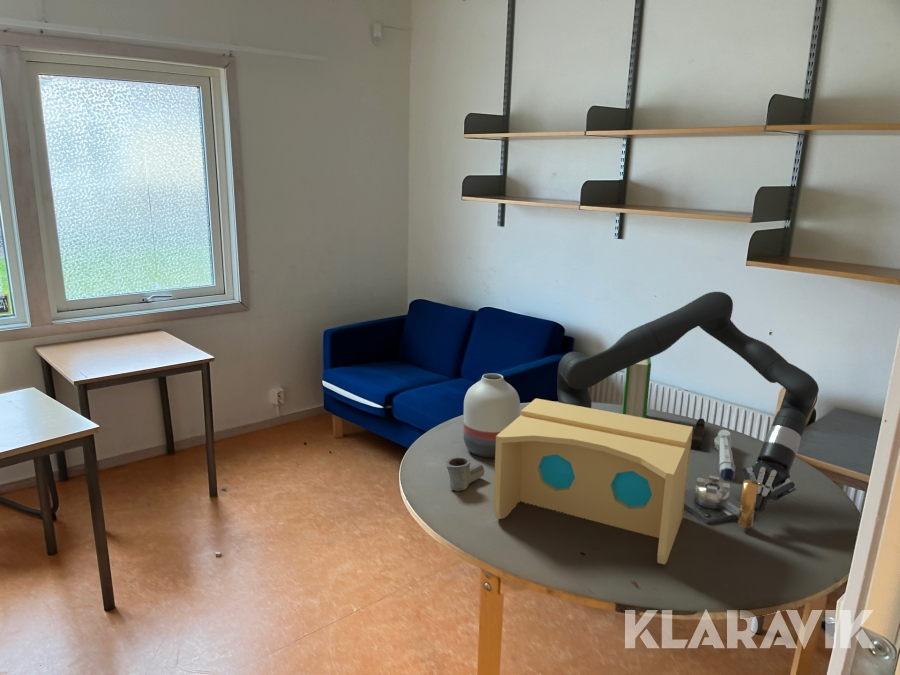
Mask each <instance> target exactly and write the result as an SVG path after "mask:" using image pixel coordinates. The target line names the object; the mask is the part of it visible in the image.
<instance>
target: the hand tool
mask: <svg viewBox="0 0 900 675" xmlns="http://www.w3.org/2000/svg"><path fill="white" fill-rule="evenodd" d="M705 422H706V420H705V419H704V418H698V419H697V421H696V422H695V427H694V428H693V432H692V440H691V449H690V450H695V451H699V450H701V449H702V446H703V438H704V433H705V425H706V423H705Z"/></svg>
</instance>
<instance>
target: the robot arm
mask: <svg viewBox="0 0 900 675" xmlns="http://www.w3.org/2000/svg"><path fill="white" fill-rule="evenodd" d="M733 310H734V302H733V299H732V297H731V295H729V294H727V293H726V292H723V291H710V292H707V293H705V294H703V295H701V296H699V297H697V298H696V299H693V300H692V301H689V303H687V304H685V305H683V306H682V307H680V308H678V309H676V310H674V311H671V312H668V313H667V314H664V315H663V316H660V317H658V318H655V319H654V320H651V321H649V322H646V323H644V324H642V325H639V326H637V327H635V328H633V329H631V330H629V331H627V332H626V333H625V334H623V335H622V336H620V338H619V339H618V340H617V341H616V342H615V343H614V344H612V346H610V347H609V348H607V349H604V350H603V351H601V352H598V353H596V354H594V355H590V356H586V355H585V354H583V353H582V352H579V351H569V352H567V353H566V354H564V355H563V356H562V357H561V359H560V361H559V363H558V367H557V383H556V384H557V385H556V386H557V387H556V388H557V389H556V391H557V394H556V395H557V399H558V402H559V403H564V404H570V405H575V406H581V407H586V408H592V405H593V404H592V399H591V395H590V391H589V388H592V387H593V386H595V385H597V384H598V383H600V382H602V381H604V380H605V379H607V378H610V376H612V375H614V374H616V373H618V372H620V371H622V370H625V368H627V367H630V366H632V365H634V364H636V363H639V362H641V361H643V360H646V359H648V358H650V359H651V358H652V357H654V356H657V355H660V354H661V353H663V352H665V351H667V350H668V349H670V347H672V346H673V345H674V344H675V343H677V342H678V341H679V340H680V339H681V338H682V337H684V336H685V335H686V334H687V333H689V332H690V331H692V330H694V329H695V328H697V327H699V328H700V329H701V330H702V331H704V332H705V334H706V333H707V334H708V335H709V336H711V337H712V338H714V339H716V340H717V341H718V342H720V343H721V344H723V345H724V346H725V347H727V348H728V349H730V350H731V351H733V352H734V353H736V354H737V355H738V356H739V357H740V358H742V359H743V360H744V361H745V362H747V363H748V364H749V365H750V366H751V367H752V368H753V369H754V370H755V371H757V373H759V374H760V375H761V376H762V377H763V378H764V379H765V380H766V381H767V382H769V383H773V384H778V385H780V386H781V387H782V388H784V390H785V393H784V395H783V398H782V401H781V404H780V408H779V410H778V411H777V412H776V414H775V417H774V419H773V422H772V424H771V427H770V429H769V430H768V432H767V434H766V437H765V438H764V440H763V443H762V446H761V448H760V451H759V454H758V456H757V459H756V461H755V462H754V463H752V466H750V467H747V468H746V467H741V470H740V471H741V472H742V475H743V479H744V480H752V477H753V474H754V476H755V480H756V482H757V483H758V490H757V497H756V504H755V511H754V513H757V514H760V513H761V512H764V511H765V508H766V506H767V503H768V501H770V500H771V501H777V500H780V499H781V498H783V497H785V496H787V495H789V494H791V493H793V492H795V491H796V490H797V487H796V484H795V482H793V481H792V480H791V477H790V476H791V475H790V472H791V469H792V466H793V463H794V461H795V459H796V456H797V452H798V450H799V448H800V444H801V440H802V436H803V434H804V431H805V428H806V424H807V420H808V418H809V416H810V413H811V411H812V408H813V406H814V404H815V402H816V399H817V396H818V394H819V391H820V390H819V389H820V388H819V384H818V383H817V381H816V379H814V378H813V376H811V375H810V374H809V373H808V372H806V371H804V370H803V369H801V368H800V367H797V366H796V365H794V364H792V363H790V362H789V361H788V360H786V359H785V358H784V356H782V355H781V354H780V353H779V352H777V351H776V350H775V349H774V348H773V347H772V346H770V345H769V344H767V343H766V342H764V341H761V340H759V339H756V338H753V337H752V336H749V335H747V334H746V333H745V332H743V331H742V330H740V329H739V328H738V326H736V325H735V323H734V322H733V321H732V320H731V318H732V314H733ZM780 486H781V487H780ZM777 487H778V488H777Z"/></svg>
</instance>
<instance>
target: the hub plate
mask: <svg viewBox="0 0 900 675" xmlns="http://www.w3.org/2000/svg"><path fill="white" fill-rule="evenodd" d="M695 489H696V488H693V489H688V490H687V489H686V493H685V501H684V509H686V510H687V511H688V512H689V513H691V514H692V515H693V516H695V517H696V518H698V519H699V520H700V521H701V522H703V523H704V524H705V525H710V524H714V523H715V524H716V523H720V522H725V521H730V520H736V519H738V516H736V515H735V514H734V513H732V512H731V511H729V510H728V509H726V508H721V509H713V508H708V507H705V506H702V505H700V504H699V503H697V502H696V501H695V499H694V497H695ZM728 501H729V502H730V503H732V504H733V505H735V506H736V507H738V508H739V509H740V503H741V501H738V500H737V499H735V498H734V497H732V496H731V495H729V499H728Z"/></svg>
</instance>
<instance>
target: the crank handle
mask: <svg viewBox="0 0 900 675" xmlns="http://www.w3.org/2000/svg"><path fill="white" fill-rule="evenodd" d="M720 478H721V477H719V476H715V475H711V474H710V475H709V478H707V479H705V478H703V477H697V478H696V483H695V488H694V489H695V497H694V499H695V501H696V502H697V503H699V504H700V505H702V506H705V507H708V508H713V509H721V508H726V509H728V510H729V511H731V512H732V513H734V514H735V515H736V516H738V518H737V525H738V526H739V527H741V528H744V529H751V528H753V524H754V516H755V512H754V511H755V504H756V497H757V490H758V483H757V481H755V480H752V479H751V480H745V479H744V480H743V483H742V489H741V497H740V509H739V508H738V507H736V506H735V505H733V504H732V503H730V502H729V501H728V499H729V496H730V491H731V490H730V488H731V483H727V482H721V481H720Z"/></svg>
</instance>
